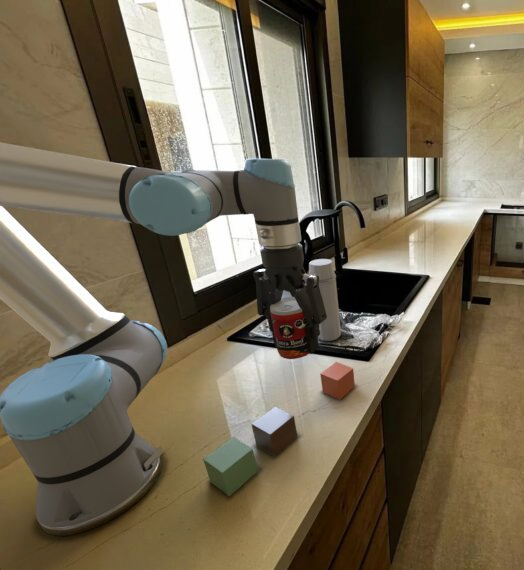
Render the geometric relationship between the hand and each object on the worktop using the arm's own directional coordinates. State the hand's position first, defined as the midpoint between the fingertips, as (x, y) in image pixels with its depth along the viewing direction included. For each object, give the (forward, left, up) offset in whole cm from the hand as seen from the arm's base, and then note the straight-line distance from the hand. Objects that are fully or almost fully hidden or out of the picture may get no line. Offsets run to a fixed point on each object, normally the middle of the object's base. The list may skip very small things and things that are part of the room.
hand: (296, 346), depth 71 cm
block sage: (+4, -20, -15) cm, 25 cm away
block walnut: (+4, -11, -15) cm, 19 cm away
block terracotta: (+4, +7, -15) cm, 17 cm away
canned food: (0, 0, -1) cm, 1 cm away
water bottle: (-16, +24, -15) cm, 33 cm away
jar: (-33, +22, -15) cm, 43 cm away
